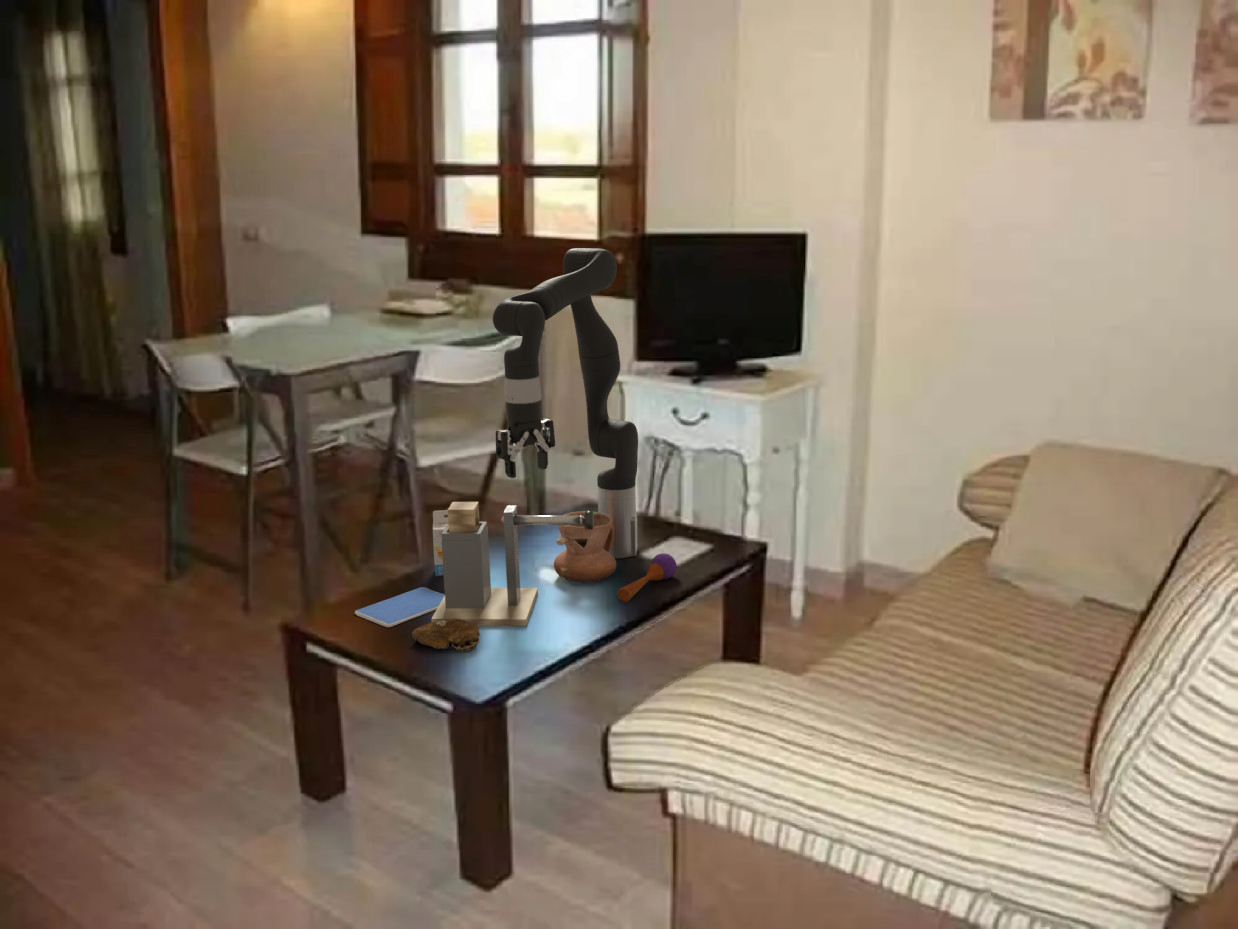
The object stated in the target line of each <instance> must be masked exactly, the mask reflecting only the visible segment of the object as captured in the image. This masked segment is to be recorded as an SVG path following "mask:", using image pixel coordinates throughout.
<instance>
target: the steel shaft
mask: <svg viewBox="0 0 1238 929" xmlns="http://www.w3.org/2000/svg"><path fill="white" fill-rule="evenodd" d="M584 511H585V517H584V516H581V515H564V514H563V515H557V514H556V515H554V514H553V515H550V514H549V515H543V514H542V515H535V514H534V515H532V514H531V515H527V514H526V515H522V514H520V515H519V514H517V515H514V525H517V526H541V525H542V526H546V525H547V526H558V525H583V524H585V530H593V527H594V513H593V512H594V510H584ZM500 522H501V524H503V525H504V515H503V516H502V517H501V519H500Z"/></svg>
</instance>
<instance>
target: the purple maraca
mask: <svg viewBox="0 0 1238 929" xmlns="http://www.w3.org/2000/svg"><path fill="white" fill-rule="evenodd" d="M676 570H677V562H676V559H675V558H674V557H673V556H672V555H670V554H669V553H658V554H656V555H655V556H654V557H653V558H652V559H651V562H650V564H649V565H648V569H647V572H646V575H645V576H643V577H641V578H639V579H637V580H635V581H632V582H631V583H629V584H626V585H625V586H623V587H620V588H619V589H618V590H617V593H616V595H617V598H618V599H619V601H620V602H625V603H628V602H629V601H630V600H631V599H632V598H634V597H635V595H636V594H637V593H638V592H640V590H641V589H642V588H643V587H644V586H645V585H646V584H647V583H648V582H649V581H661V580H668V579H670V578H672V577H673V576H674V575H675V573H676Z"/></svg>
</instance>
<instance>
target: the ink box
mask: <svg viewBox="0 0 1238 929" xmlns="http://www.w3.org/2000/svg"><path fill="white" fill-rule="evenodd" d="M445 516H446V517H445ZM432 520H433V521H432V542H433V543H432V544H433V558H434V559H433V560H434V573H435V574H434V575H435V577H444V573H443V557H442V532H443V531H444V529H445V528H446V526H447V525H448V509H445V510H444V509H443V510H433V511H432Z"/></svg>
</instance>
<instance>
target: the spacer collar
mask: <svg viewBox="0 0 1238 929" xmlns="http://www.w3.org/2000/svg"><path fill="white" fill-rule="evenodd" d="M447 510H448V515H447V517H448V524H449V533H477V532H478V530H479V528H480V522H481V521H480V504H479V501H452V502H451V503H450V506H449V507H448V508H447Z"/></svg>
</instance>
